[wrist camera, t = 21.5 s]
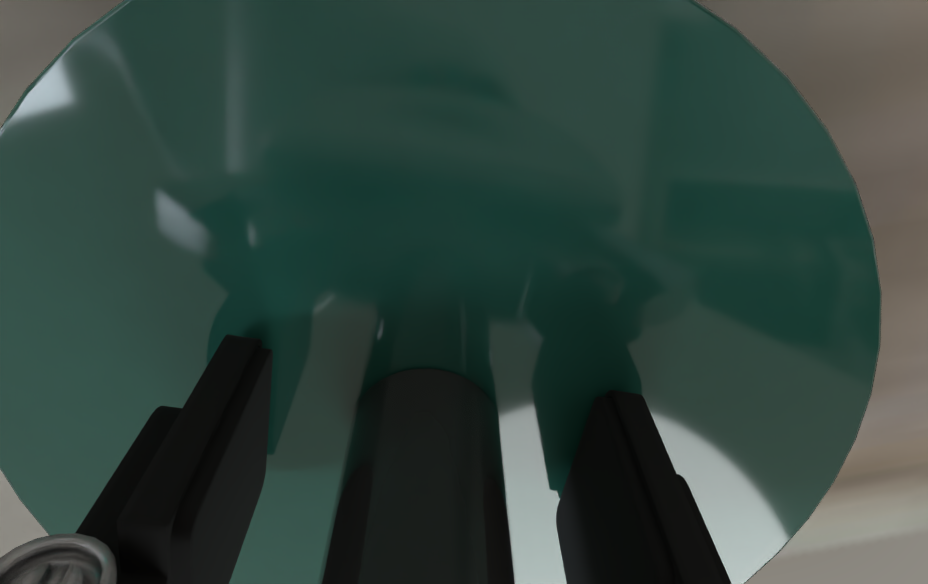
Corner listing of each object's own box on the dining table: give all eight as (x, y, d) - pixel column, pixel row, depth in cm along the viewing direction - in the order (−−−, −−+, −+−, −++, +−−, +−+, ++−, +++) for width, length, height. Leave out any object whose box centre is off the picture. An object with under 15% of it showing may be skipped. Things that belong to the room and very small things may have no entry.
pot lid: (47, 607, 15) (-177, 974, 10) (-87, -199, 8) (-1163, -492, 3) (678, 670, 17) (787, 1018, 11) (1024, 40, 10) (1759, 158, 4)
